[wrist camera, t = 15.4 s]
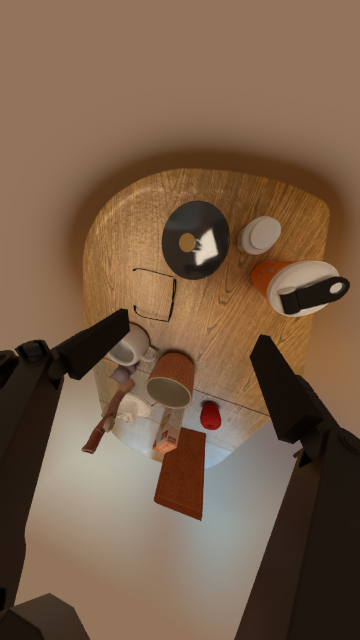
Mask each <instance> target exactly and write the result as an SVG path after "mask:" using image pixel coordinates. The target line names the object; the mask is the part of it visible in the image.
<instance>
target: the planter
mask: <svg viewBox="0 0 360 640" xmlns="http://www.w3.org/2000/svg"><path fill="white" fill-rule="evenodd" d="M193 385H194V367H193V364H192V363H191V361H190V360H189V359H188V358H187V357H186V356H184V355H182V354H179V353H168V354H165V355H164V356H162V357H161V358H160V359H159V361H158V362H157V364H156V365H155V367H154V369H153V370H152V372H151V374H150V376H149V378H148V380H147V382H146V384H145V391H146V393H147V395H148V396H149V397H150V398H151V399H152V400H153V401H154V402H156V403H158V404H159V405H162V406H164V407H167V408H172V409H181V408H185V407H187V406H188V405H189V404H190V403H191V401H192V394H193Z"/></svg>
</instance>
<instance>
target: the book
mask: <svg viewBox="0 0 360 640" xmlns="http://www.w3.org/2000/svg"><path fill="white" fill-rule="evenodd" d="M205 437H206V434H205V433H201V432H198V431H194V430H190V429H186V428H182V427H181V429H180V434H179V439H178V444H177V448H175V449H173V450H171V451H169V452H167V453H165V455H164V459H163V463H162V467H161V472H160V476H159V480H158V484H157V488H156V492H155V497H154V501H155V502H156V503H157V504H160V505H162V506H165V507H168V508H170V509H173V510H175V511H178V512H180V513H182V514H185V515H188V516H190V517H193V518H195V519H197V520H200V521H201V518H202V510H203V486H204V461H205Z"/></svg>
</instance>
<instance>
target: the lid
mask: <svg viewBox="0 0 360 640" xmlns="http://www.w3.org/2000/svg"><path fill="white" fill-rule="evenodd" d="M229 242H230V234H229V227H228V224H227V221H226V219H225V217H224V215H223V214H222V213H221V211H220V210H219V209H218V208H217V207H215V206H214V205H212V204H210V203H208V202H205V201H191V202H188V203H185V204H183V205H181V206H180V207H178V208H177V209H176V210H175V211H174V212H173V213H172V214H171V216H170V217H169V219H168V220H167V222H166V225H165V227H164V230H163V235H162V251H163V255H164V258H165V261H166V262H167V264H168V266H169V267H170V269H171V270H172V271H173V272H174V273H176V274H177V275H178V276H180V277H182V278H185V279H190V280H198V279H202V278H205V277H207V276H209V275H211V274H212V273H214V272H215V271H216V270H217V269H218V268H219V267H220V265H221V264H222V263H223V261H224V259H225V257H226V255H227V252H228V248H229Z"/></svg>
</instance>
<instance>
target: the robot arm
mask: <svg viewBox="0 0 360 640" xmlns="http://www.w3.org/2000/svg"><path fill="white" fill-rule="evenodd" d="M129 332H130V325H129V316H128V310H127V309H122V308H121V309H119V310H118V311H116V312H114V313H113V314H111V315H110V316H108V317H106V318H105V319H103V320H102V321H100V322H98V323H97V324H95V325H94V326H92V327H90V328H89V329H86V330H83V331H80V332H79V333H77V334H75V336H72V337H71V338H70V339H67V340H66V341H64V342H62V343H61V344H59V345H58V346H56V347H54V348H52V349H51V350H50V349H49V348H48V346H47V344H46V342H45V341H44V340H33V341H29V342H26V343H23V344H21V345H19V346H18V347H17V348H15V350H16V352H17V353H18V355H19V356H16V355H15V353H14V352H13V351H11V350H4V351H0V640H90V638H89V636H88V635H87V632H86V631H85V629H84V627H83V625H82V623H81V621H80V619H79V617H78V615H77V613H76V612H75V609H74V608H73V607H72V606H70V605H69V604H67V603H65V602H64V601H62V600H60V599H59V598H57V597H56V596H54V595H52V594H51V593H48V594H46V595H43V596H40V597H38V598H35V599H32V600H30V601H27V602H25V603H22V604H19V605H16V606H14V602H15V598H16V594H17V590H18V586H19V582H20V577H21V573H22V569H23V565H24V559H25V552H26V543H25V537H24V535H25V526H26V522H27V518H28V515H29V510H30V507H31V503H32V499H33V496H34V492H35V488H36V485H37V481H38V477H39V473H40V469H41V465H42V462H43V458H44V454H45V450H46V447H47V443H48V439H49V435H50V432H51V427H52V423H53V420H54V417H55V413H56V409H57V405H58V401H59V398H60V394H61V390H62V386H63V382H64V375H65V374H66V373H68V375H69V377H70V378H73V379H76V380H80V379H81V378H82V377H83V376H84V375H85V374H86V373H87V372H88V371H90V370H91V369H92V368H93V367H94V366H95V365H96V364H97V363H98V362H99V361H100V360H101V359H102V358H103V357H104V356H105V355H106V354H107V353H108V352H109V351H110V350H111V349H112V348H113V347H114V346H115V345H117V344H118V343H119V342H120V341H121V340H122V339H123V338H124V337H125V336H126V335H127V334H128V333H129ZM250 359H251V362H252V365H253V368H254V371H255V374H256V377H257V380H258V382H259V385H260V388H261V391H262V394H263V397H264V400H265V403H266V405H267V408H268V411H269V414H270V417H271V420H272V423H273V426H274V429H275V431H276V434H277V437H278V440H281V441H285V442H288V443H291V444H294V443H295V442H297V441H298V440H299V439H300V442H301V444H302V446H303V448H302V449H300V450H299V451H298V452H296V453H295V454H294V455H293V457H294V458H296V457H298V458H297V461H296V464H295V467H294V469H293V472H292V475H291V478H290V481H289V484H288V487H287V490H286V493H285V496H284V498H283V501H282V504H281V507H280V510H279V513H278V515H277V518H276V521H275V524H274V527H273V530H272V533H271V536H270V539H269V541H268V544H267V547H266V550H265V553H264V556H263V559H262V562H261V565H260V567H259V570H258V573H257V576H256V579H255V582H254V584H253V588H252V590H251V593H250V596H249V599H248V602H247V605H246V607H245V610H244V613H243V616H242V619H241V622H240V625H239V628H238V631H237V634H236V637H235V639H234V640H360V439H359V438H357V437H356V436H355V435H353V434H352V433H350V432H349V431H347V430H345V429H343V428H341V427H340V426H339V425H338V424H337V422H336V421H335V419H334V418H333V416H332V415H331V414H330V412H329V411H328V409H327V408H326V407H325V405H324V404H323V403H322V401H321V400H320V399H319V397H318V396H317V394H316V393H315V392H314V390H313V389H312V387H311V386H310V385H309V383H308V382H306V381H305V380H304V379H303V378H302V377H301V376H300V375H296V374H294V372H293V371H292V369H291V368H290V366H289V365H288V363H287V362H286V360H285V359H284V357H283V356H282V354H281V353H280V351H279V350H278V348H277V347H276V345H275V344H274V342H273V341H272V339H271V338H270V336H266V335H261V334H260V336H259V338H258V340H257V342H256V344H255V347H254V349H253V351H252V353H251V355H250Z"/></svg>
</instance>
